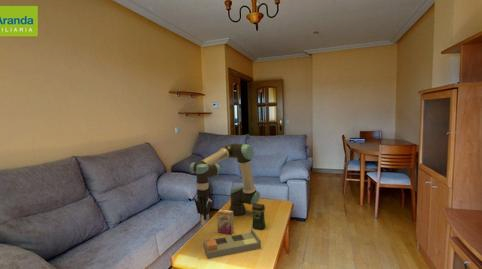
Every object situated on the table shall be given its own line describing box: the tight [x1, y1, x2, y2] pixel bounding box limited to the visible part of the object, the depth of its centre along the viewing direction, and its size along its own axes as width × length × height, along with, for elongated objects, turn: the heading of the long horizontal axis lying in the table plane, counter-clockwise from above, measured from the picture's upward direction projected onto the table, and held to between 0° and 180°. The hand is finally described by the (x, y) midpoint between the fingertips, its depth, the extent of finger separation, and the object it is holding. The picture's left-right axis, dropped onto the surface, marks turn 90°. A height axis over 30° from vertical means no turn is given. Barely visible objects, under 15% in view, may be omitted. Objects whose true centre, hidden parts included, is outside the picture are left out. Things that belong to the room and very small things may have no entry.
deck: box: [203, 227, 262, 260], centre depth 162 cm, size 17×35×6 cm, turn 107°
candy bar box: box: [216, 208, 235, 235], centre depth 180 cm, size 11×5×16 cm, turn 71°
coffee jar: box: [251, 203, 266, 230], centre depth 186 cm, size 10×8×19 cm
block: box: [205, 239, 217, 251], centre depth 155 cm, size 6×6×4 cm
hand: (203, 224), depth 156 cm, fingers closed
